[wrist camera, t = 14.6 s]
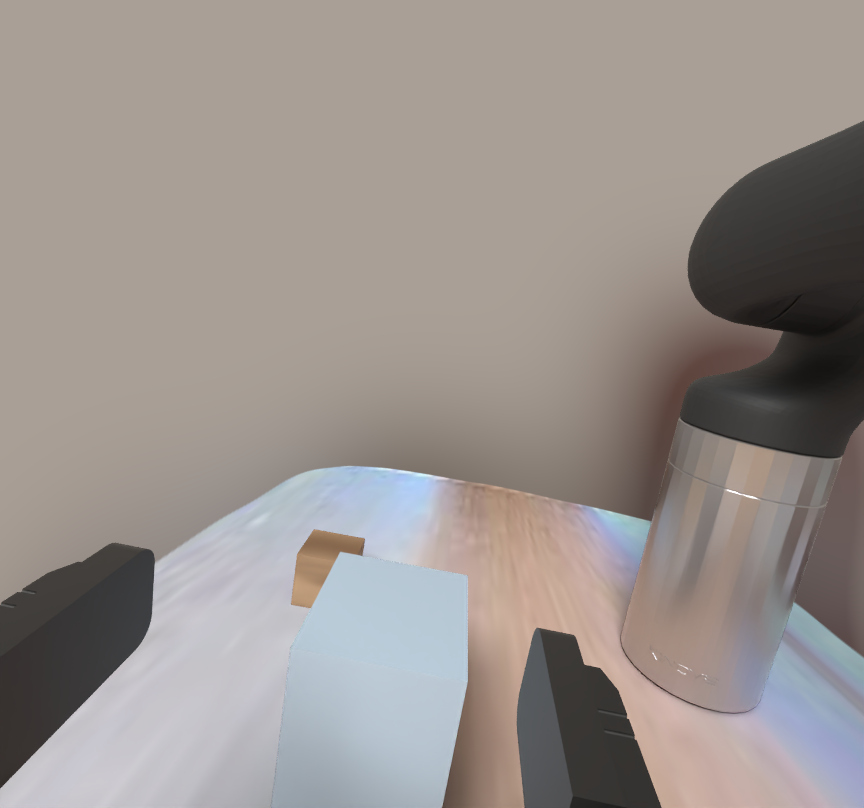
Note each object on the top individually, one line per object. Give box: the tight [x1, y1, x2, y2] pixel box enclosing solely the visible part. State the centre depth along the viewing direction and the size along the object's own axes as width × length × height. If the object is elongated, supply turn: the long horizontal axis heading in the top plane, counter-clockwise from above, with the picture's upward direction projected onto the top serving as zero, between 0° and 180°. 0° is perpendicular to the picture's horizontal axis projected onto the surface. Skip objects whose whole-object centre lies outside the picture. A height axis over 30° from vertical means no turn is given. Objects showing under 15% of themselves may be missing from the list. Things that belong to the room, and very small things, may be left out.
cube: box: [291, 529, 365, 608], centre depth 38 cm, size 4×4×4 cm
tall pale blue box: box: [271, 552, 468, 808], centre depth 22 cm, size 7×6×10 cm
